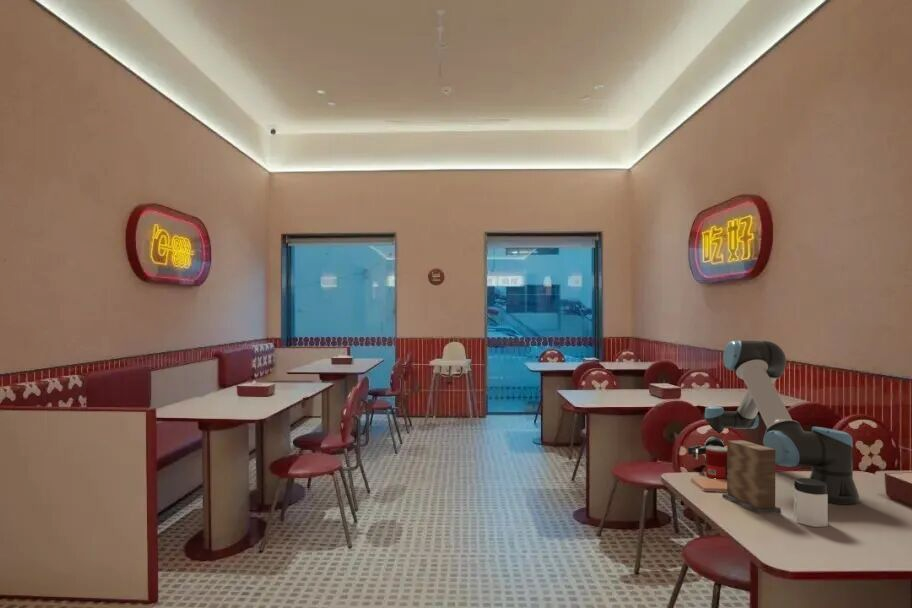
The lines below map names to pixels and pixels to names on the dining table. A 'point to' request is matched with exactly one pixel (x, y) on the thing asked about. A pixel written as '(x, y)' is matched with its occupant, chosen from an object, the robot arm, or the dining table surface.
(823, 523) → the jar
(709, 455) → the canned food
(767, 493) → the wooden block
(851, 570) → the dining table surface
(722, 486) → the terracotta tile
